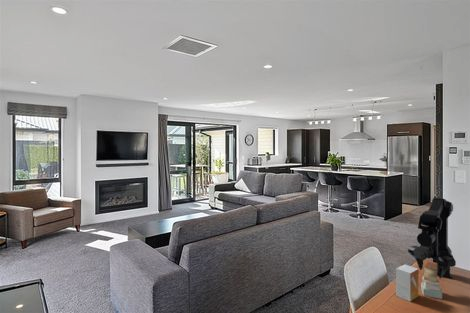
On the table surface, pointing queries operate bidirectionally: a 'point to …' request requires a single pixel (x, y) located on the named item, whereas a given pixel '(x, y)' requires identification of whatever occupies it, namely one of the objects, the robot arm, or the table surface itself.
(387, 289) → the table surface
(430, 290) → the sage base block
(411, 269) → the small box
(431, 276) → the maple cylinder
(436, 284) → the cream top block
